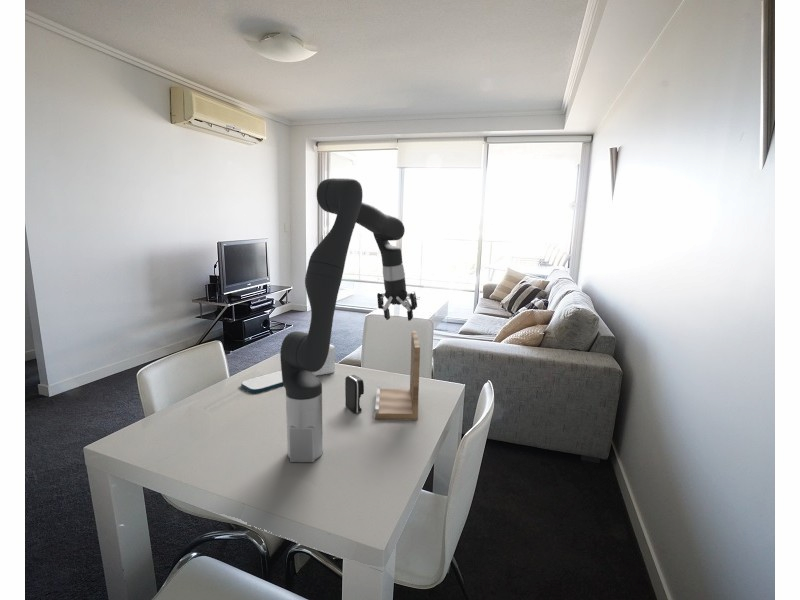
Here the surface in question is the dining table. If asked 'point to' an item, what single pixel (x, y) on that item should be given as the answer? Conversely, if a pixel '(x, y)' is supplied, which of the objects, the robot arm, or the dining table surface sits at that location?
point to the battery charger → (353, 392)
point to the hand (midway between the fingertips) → (399, 319)
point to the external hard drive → (263, 382)
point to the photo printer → (328, 363)
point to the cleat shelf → (401, 392)
